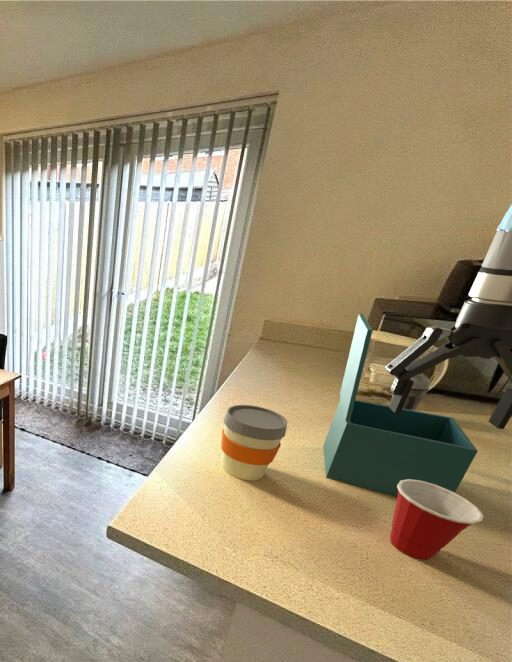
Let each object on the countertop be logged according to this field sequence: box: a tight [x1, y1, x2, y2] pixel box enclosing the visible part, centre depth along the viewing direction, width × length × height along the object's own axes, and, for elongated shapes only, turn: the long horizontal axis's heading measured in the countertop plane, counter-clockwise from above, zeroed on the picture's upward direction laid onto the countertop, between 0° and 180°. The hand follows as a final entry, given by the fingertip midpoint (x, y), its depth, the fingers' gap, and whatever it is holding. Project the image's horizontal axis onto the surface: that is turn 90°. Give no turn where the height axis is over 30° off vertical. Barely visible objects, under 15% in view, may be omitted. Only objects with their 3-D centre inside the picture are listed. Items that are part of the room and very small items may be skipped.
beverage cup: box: [389, 356, 431, 411], centre depth 115 cm, size 7×7×20 cm
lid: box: [339, 313, 373, 422], centre depth 90 cm, size 21×17×1 cm
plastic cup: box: [389, 479, 484, 560], centre depth 71 cm, size 11×11×12 cm
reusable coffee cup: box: [220, 404, 288, 481], centre depth 94 cm, size 13×13×15 cm
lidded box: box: [322, 398, 478, 498], centre depth 92 cm, size 20×17×15 cm
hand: (443, 417), depth 71 cm, fingers open, 13 cm apart
